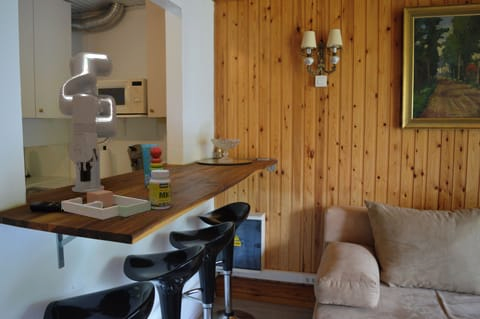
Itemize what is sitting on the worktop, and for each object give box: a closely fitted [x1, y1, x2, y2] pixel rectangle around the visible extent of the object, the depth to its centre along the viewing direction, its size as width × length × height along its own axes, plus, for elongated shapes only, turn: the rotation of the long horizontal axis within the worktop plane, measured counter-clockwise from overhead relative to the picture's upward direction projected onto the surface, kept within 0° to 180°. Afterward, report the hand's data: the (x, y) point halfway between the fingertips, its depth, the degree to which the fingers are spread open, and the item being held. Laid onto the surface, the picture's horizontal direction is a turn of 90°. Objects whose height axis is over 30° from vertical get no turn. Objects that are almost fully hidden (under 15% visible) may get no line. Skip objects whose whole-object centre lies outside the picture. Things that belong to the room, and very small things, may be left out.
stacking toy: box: [147, 146, 164, 190], centre depth 158 cm, size 8×8×19 cm
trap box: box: [61, 194, 152, 221], centre depth 121 cm, size 24×17×3 cm
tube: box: [140, 143, 159, 187], centre depth 168 cm, size 7×5×19 cm, turn 109°
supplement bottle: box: [148, 169, 172, 210], centre depth 125 cm, size 7×7×13 cm
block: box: [86, 189, 114, 208], centre depth 126 cm, size 6×6×5 cm
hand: (85, 181), depth 129 cm, fingers closed
